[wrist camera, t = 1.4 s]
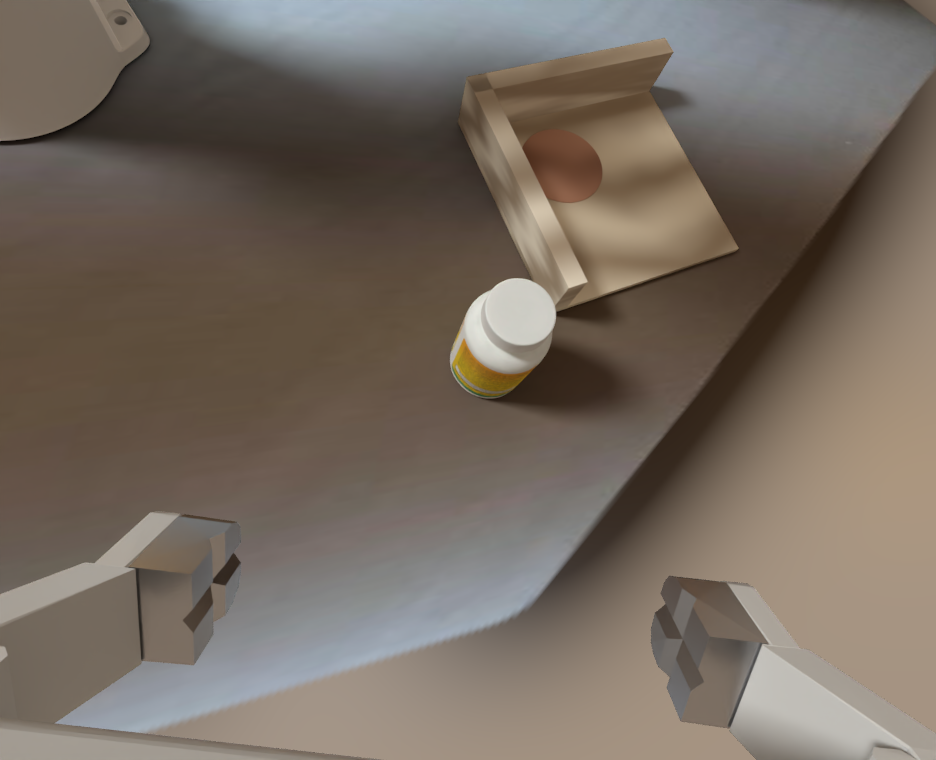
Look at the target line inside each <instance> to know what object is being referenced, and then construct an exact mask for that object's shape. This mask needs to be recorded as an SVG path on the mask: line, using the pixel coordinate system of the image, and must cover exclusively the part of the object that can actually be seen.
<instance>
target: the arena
mask: <svg viewBox="0 0 936 760" xmlns="http://www.w3.org/2000/svg"><path fill="white" fill-rule="evenodd" d="M672 54H673V50H672V49H671V47H670V45H669V44H668V42H667V40H666V39H665V38H662V39H657V40H652V41H647V42H642V43H637V44H632V45H626V46H621V47H616V48H611V49H606V50H601V51H596V52H591V53H586V54H581V55H576V56H570V57H565V58H560V59H555V60H550V61H545V62H540V63H535V64H530V65H525V66H519V67H514V68H509V69H504V70H499V71H494V72H489V73H484V74H479V75H474V76H468V77H467V78H466V83H465V88H464V94H463V99H462V104H461V109H460V114H459V119H458V124H459V126H460V128H461V130H462V132H463V134H464V136H465V139H466V141H467V143H468V145H469V147H470V149H471V151H472V153H473V156H474V158H475V160H476V162H477V164H478V166H479V168H480V171H481V173H482V175H483V177H484V179H485V181H486V183H487V186H488V188H489V190H490V192H491V194H492V196H493V198H494V201H495V203H496V205H497V207H498V209H499V211H500V213H501V215H502V218H503V220H504V222H505V224H506V226H507V228H508V230H509V233H510V235H511V237H512V239H513V241H514V243H515V245H516V248H517V250H518V252H519V254H520V256H521V258H522V260H523V263H524V265H525V267H526V269H527V271H528V273H529V275H530V277H531V280H532V281H533V282H535V283H537V284H538V285H540V286H541V287H542V288H544V289H545V290H546V291H547V293H548V294H549V295H550V297H551V298H552V300H553V302H554V305H555V309H556V312H558V311H561V310H564V309H567V308H570V307H573V306H576V305H579V304H582V303H585V302H588V301H591V300H593V299H596V298H599V297H602V296H605V295H608V294H611V293H614V292H617V291H620V290H623V289H626V288H629V287H632V286H635V285H638V284H641V283H644V282H647V281H650V280H653V279H656V278H659V277H661V276H664V275H667V274H670V273H673V272H676V271H679V270H682V269H685V268H688V267H691V266H694V265H697V264H700V263H703V262H706V261H709V260H712V259H715V258H718V257H721V256H724V255H727V254H729V253H732V252H735V251H736V250H738V249H739V248H738V246H737V244H736V243H735V241H734V239H733V237H732V236H731V234H730V232H729V230H728V229H727V227H726V225H725V223H724V222H723V220H722V218H721V216H720V215H719V213H718V211H717V209H716V207H715V206H714V204H713V202H712V200H711V199H710V197H709V195H708V193H707V192H706V190H705V188H704V186H703V185H702V183H701V181H700V179H699V178H698V176H697V174H696V172H695V170H694V169H693V167H692V165H691V163H690V162H689V160H688V158H687V156H686V155H685V153H684V151H683V149H682V148H681V146H680V144H679V142H678V141H677V139H676V137H675V135H674V134H673V132H672V130H671V128H670V126H669V125H668V123H667V121H666V119H665V118H664V116H663V114H662V112H661V111H660V109H659V107H658V105H657V104H656V102H655V100H654V98H653V97H652V95H651V93H650V89H651V88H652V86H653V85H654V83H655V81H656V80H657V78H658V76H659V75H660V73H661V71H662V70H663V68H664V67H665V65H666V63H667V62H668V60H669V58H670V57H671V55H672Z"/></svg>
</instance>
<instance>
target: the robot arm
mask: <svg viewBox="0 0 936 760" xmlns="http://www.w3.org/2000/svg"><path fill="white" fill-rule="evenodd" d="M149 43H150V39H149V36H148V34H147V32H146V31H145V29H144V27H143V26H142V24H141V23H140V21H139V19H138V18H137V16H136V15H135V13H134V11H133V10H132V8H131V7H130V5H129V3H128V2H127V0H0V141H7V140H19V139H26V138H31V137H36V136H40V135H44V134H47V133H50V132H53V131H56V130H59V129H61V128H63V127H66V126H68V125H70V124H72V123H74V122H76V121H77V120H79V119H80V118H82V117H84V116H85V115H86V114H88V113H89V112H90V111H92V110H93V109H94V108H95V107H96V106H97V105H98V104H99V103H100V102H101V101H102V100H103V99H104V98H105V96H106V95H107V94H108V93H109V91H110V89H111V88H112V86H113V84H114V82H115V80H116V78H117V77H118V75H119V73H120V72H121V70H122V69H123V68H124V66H126V65H127V64H128V63H130V62H131V61H133V60H134V59H135V58H137V57H138V56H139V55H140V54H142V53H143V52H144V51H145V50H146V49H147V47H148V46H149ZM240 543H241V530H240V526H239V524H238V523H237V522H234V521H227V520H220V519H214V518H207V517H200V516H193V515H186V514H185V515H183V514H179V513H171V512H162V511H156V512H151V513H150V514H148V515H147V516H146V517H145V518H144V519H143V520H142V521H141V522H139V523H138V524H137V525H136V526H135V527H134V528H133V529H132V530H131V531H129V532H128V533H127V534H126V535H125V536H124V537H123V538H122V539H121V540H120V541H118V542H117V543H116V544H115V545H114V546H113V547H112V548H111V549H110V550H108V551H107V552H106V553H105V554H104V555H103V556H102V557H101V558H100V559H99V560H97V561H96V562H95V563H94V564H93V563H82V564H80V565H77V566H74V567H72V568H69V569H66V570H64V571H61V572H58V573H56V574H53V575H50V576H48V577H45V578H42V579H40V580H37V581H34V582H32V583H29V584H26V585H24V586H21V587H18V588H16V589H13V590H10V591H8V592H5V593H2V594H0V760H379V759H370V758H361V757H351V756H341V755H333V754H324V753H315V752H306V751H297V750H288V749H279V748H270V747H261V746H252V745H243V744H233V743H225V742H216V741H207V740H198V739H189V738H180V737H171V736H162V735H153V734H144V733H135V732H126V731H117V730H108V729H99V728H90V727H81V726H72V725H63V724H54V723H55V722H57V721H58V720H60V719H61V718H63V717H64V716H66V715H67V714H69V713H70V712H71V711H73V710H74V709H76V708H77V707H79V706H80V705H82V704H83V703H85V702H86V701H88V700H89V699H91V698H92V697H93V696H95V695H96V694H98V693H99V692H101V691H102V690H104V689H105V688H107V687H108V686H110V685H111V684H112V683H114V682H115V681H117V680H118V679H120V678H121V677H123V676H124V675H126V674H127V673H129V672H130V671H131V670H133V669H134V668H136V667H137V666H139V665H140V664H141V663H142V662H141V661H151V662H163V663H174V664H186V665H194V664H195V663H196V661H197V660H198V658H199V656H200V655H201V653H202V652H203V650H204V648H205V647H206V645H207V644H208V642H209V641H210V639H211V637H212V636H213V622H214V621H216V620H218V619H220V618H221V617H223V616H225V615H226V613H227V612H228V610H229V608H230V607H231V605H232V603H233V601H234V598H235V595H236V592H237V589H238V586H239V580H240V574H241V562H240V561H239V559H238V558H237V557H236V555H235V554H234V551H235V550H236V548H237V547H238V546H239V544H240ZM661 595H662V597H663V599H664V601H665V603H666V604H665V605H664V606H663V607H662V608H661V609H659V610H658V611H657V612H655V615H654V619H653V623H652V627H651V644H652V649H653V654H654V657H655V659H656V662H657V665H658V667H659V668H661V670H663V671H664V672H665V673H666V674H667V675H668V676H669V677H670V679H669V682H668V685H667V689H668V692H669V694H670V697H671V699H672V701H673V704H674V706H675V709H676V711H677V713H678V716H679V718H680V721H682V722H689V723H696V724H703V725H709V726H716V727H723V728H730V730H729V731H730V732H731V733H732V734H733V735H734V736H735V737H736V739H737V740H738V741H739V742H740V743H741V744H742V745H743V746H744V747H745V748H746V749H747V750H748V751H749V752H750V753H751V754H752V756H753V757H754V758H755V759H756V760H936V733H935V732H933V731H932V730H930V729H929V728H927V727H926V726H924V725H923V724H921V723H920V722H918V721H917V720H915V719H914V718H912V717H910V716H909V715H907V714H906V713H904V712H903V711H901V710H900V709H898V708H897V707H895V706H894V705H892V704H891V703H889V702H888V701H886V700H885V699H883V698H881V697H880V696H879V695H877V694H875V693H874V692H873V691H871V690H870V689H868V688H867V687H865V686H863V685H862V684H860V683H859V682H857V681H856V680H854V679H853V678H851V677H850V676H848V675H847V674H845V673H844V672H842V671H841V670H839V669H838V668H836V667H835V666H833V665H831V664H830V663H829V662H827V661H826V660H824V659H822V658H821V657H819V656H818V655H816V654H815V653H813V652H812V651H810V650H808V649H800V647H799V646H798V645H797V643H796V642H795V641H794V639H793V638H792V637H791V635H789V633H788V631H787V630H786V629H785V628H784V626H783V625H782V624H781V622H780V621H779V620H778V618H777V617H776V616H775V614H774V613H773V612H772V611H771V609H770V608H769V607H768V605H767V604H766V603H765V601H764V600H763V599H762V597H761V596H760V595H759V593H758V592H757V591H756V589H755V588H754V587H752V586H750V585H749V584H747V583H738V582H727V581H720V582H719V581H710V580H701V579H692V578H683V577H674V576H669V577H668V578H667V579H666V581H665V582H664V585H663V588H662V591H661Z"/></svg>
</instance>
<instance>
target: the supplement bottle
mask: <svg viewBox="0 0 936 760" xmlns="http://www.w3.org/2000/svg"><path fill="white" fill-rule="evenodd" d="M555 322H556V309H555V305H554V302H553V300H552V298H551V297H550V295H549V294H548V293H547V291H546V290H545V289H544V288H542V287H541V286H540V285H538V284H537V283H535V282H533V281H530V280H527V279H521V278H513V279H508V280H505V281H503V282H501V283H499V284H497V285H496V286H495V287H494V288H493V289H492V290H490V291H488V292H486V293H484V294H482V295H481V296H480V297H478V298H477V299H476V300H475V301H474V302H473V303H472V305H471V306H470V308H469V310H468V312H467V314H466V316H465V318H464V321H463V323H462V325H461V328H460V330H459V333H458V335H457V337H456V340H455V342H454V344H453V347H452V350H451V355H450V365H451V370H452V373H453V375H454V377H455V379H456V380H457V382H458V383H459V384H460V385H461V386H462V387H463V388H464V389H465V390H466V391H467V392H469V393H471V394H472V395H475V396H477V397H481V398H498V397H501V396H504V395H506V394H507V393H509V392H510V391H512V390H513V389H514V388H515V387H516V386H517V385H518V384H519V383H520V382H521V381H522V380H523V379H524V378H525V377H526V376H527V375H528V374H529V373H530V372H531V371H532V370H533V369H534V368H535V367H536V366H537V365H538V364H539V363H540V362H541V361H542V360H543V358H544V357H545V355H546V354H547V352H548V350H549V347H550V344H551V340H552V330H553V328H554V325H555Z"/></svg>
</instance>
